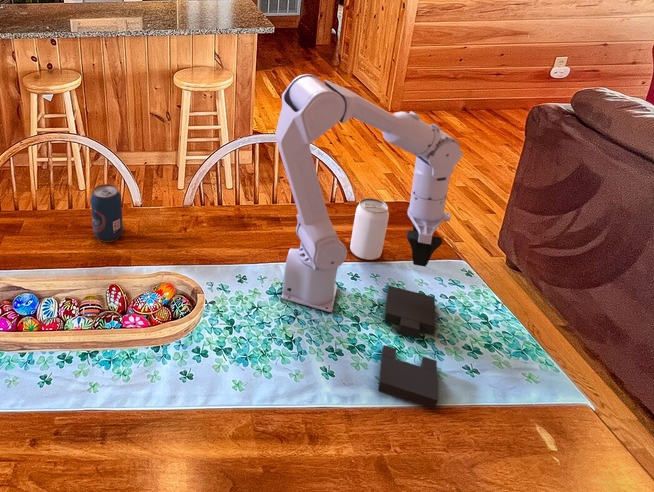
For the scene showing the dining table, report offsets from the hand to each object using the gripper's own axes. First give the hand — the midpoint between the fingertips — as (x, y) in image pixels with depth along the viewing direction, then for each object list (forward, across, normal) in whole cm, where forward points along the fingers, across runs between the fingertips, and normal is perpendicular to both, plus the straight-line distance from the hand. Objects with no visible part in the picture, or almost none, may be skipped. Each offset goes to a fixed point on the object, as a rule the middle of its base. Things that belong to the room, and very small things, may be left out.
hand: (419, 252), depth 98 cm
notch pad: (+7, -25, +1) cm, 26 cm away
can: (+8, +7, +10) cm, 14 cm away
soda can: (+4, -10, +65) cm, 66 cm away
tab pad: (+8, -9, +1) cm, 12 cm away
